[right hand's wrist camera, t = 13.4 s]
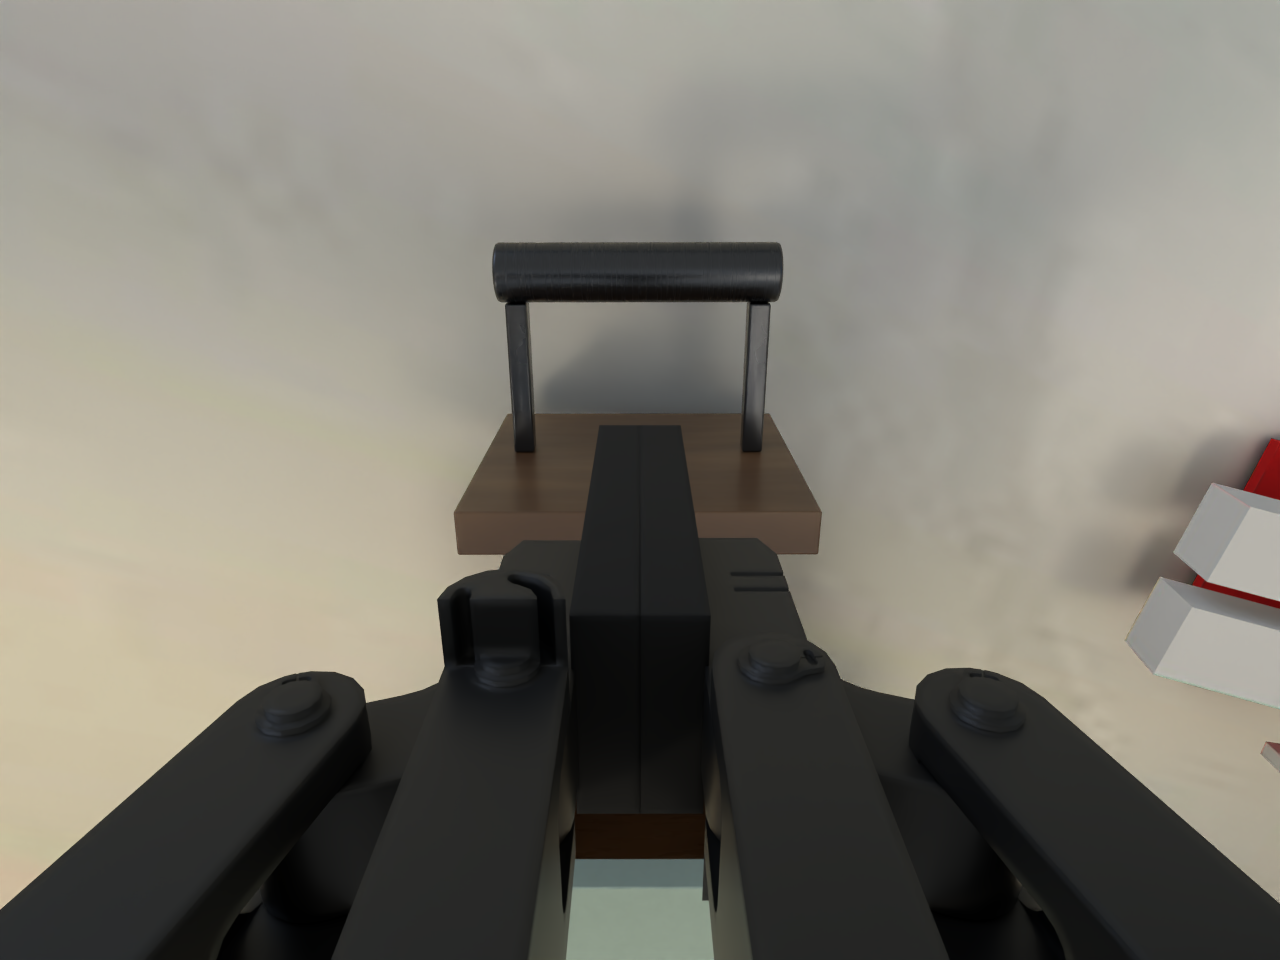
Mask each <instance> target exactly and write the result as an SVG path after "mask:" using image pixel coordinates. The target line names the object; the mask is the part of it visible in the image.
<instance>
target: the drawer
mask: <svg viewBox="0 0 1280 960" xmlns="http://www.w3.org/2000/svg"><path fill="white" fill-rule="evenodd" d="M492 273H493V284H494V290H495V294H496V297H497V299H498V301H500V302H507V303H506V305H505V312H506V327H507V343H508V358H509V374H510V389H511V404H512V414H507V416H506V418H505V420H504V421H503V423H502V425H501V427H500V429H499V431H498V432H497V434H496V436H495V438H494V440H493V442H492V443H491V445H490V447H489V449H488V451H487V453H486V454H485V456H484V458H483V460H482V462H481V464H480V465H479V467H478V469H477V471H476V473H475V475H474V476H473V478H472V480H471V482H470V484H469V486H468V488H467V489H466V491H465V493H464V495H463V497H462V499H461V500H460V502H459V504H458V506H457V508H456V510H455V511H454V520H455V530H456V540H457V550H458V554H459V555H506V554H507V553H508V552H509V551H511V550H512V549H513V548H514V547H516V546H517V545H518V544H519V543H520V542H522V541H523V540H581V538H582V531H583V525H584V519H585V512H586V506H587V500H588V494H589V487H590V481H591V475H592V468H593V462H594V456H595V450H596V443H597V437H598V431H599V425H681V431H682V437H683V443H684V450H685V456H686V462H687V468H688V475H689V481H690V487H691V494H692V500H693V506H694V513H695V519H696V525H697V531H698V538H758V539H759V540H760V541H762V542H763V543H764V544H765V545H766V546H768V547H769V548H770V549H771V550H773V551H774V552H775V553H776V554H818V548H819V538H820V527H821V517H822V512H821V510H820V508H819V506H818V504H817V502H816V500H815V498H814V497H813V495H812V493H811V491H810V489H809V487H808V485H807V483H806V482H805V480H804V478H803V476H802V474H801V472H800V470H799V468H798V467H797V465H796V463H795V461H794V459H793V457H792V455H791V453H790V451H789V450H788V448H787V446H786V444H785V442H784V440H783V438H782V436H781V435H780V433H779V431H778V429H777V427H776V425H775V423H774V421H773V420H772V418H771V416H770V414H764V407H765V391H766V374H767V358H768V342H769V325H770V309H771V305H770V303H769V302H775V301H777V300H778V298H779V296H780V293H781V288H782V280H783V253H782V248H781V245H780V244H779V243H777V242H588V243H497V244H496V245H495V247H494V251H493V259H492ZM528 302H747V314H746V335H745V355H744V375H743V395H742V414H535V410H534V391H533V372H532V354H531V335H530V317H529V303H528ZM574 819H575V843H576V855H575V859H704V843H705V819H706V812H705V803H704V802H703V814H577V802H576V807H575V816H574Z"/></svg>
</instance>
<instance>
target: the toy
mask: <svg viewBox="0 0 1280 960" xmlns="http://www.w3.org/2000/svg"><path fill="white" fill-rule="evenodd" d="M1173 553H1174V554H1175V555H1176V556H1178V557H1179V558H1180V559H1181V560H1182V561H1183V562H1185V563H1186V564H1187V565H1188V566H1189V567H1190V568H1192V569H1193V570H1194V571H1195V572H1196V573H1197V574H1198V575H1197V576H1196V578H1195V580H1194V582H1193V584H1192V585H1189V584H1185V583H1182V582H1178V581H1174V580H1170V579H1167V578H1163V577H1159V579H1158V581H1157V583H1156V584H1155V586H1154V588H1153V590H1152V592H1151V593H1150V595H1149V597H1148V599H1147V601H1146V602H1145V604H1144V606H1143V608H1142V610H1141V611H1140V613H1139V615H1138V617H1137V619H1136V620H1135V622H1134V624H1133V626H1132V628H1131V629H1130V631H1129V633H1128V635H1127V637H1126V638H1125V641H1126V642H1127V644H1128V645H1129V646H1130V647H1131V649H1132V650H1133V651H1134V652H1135V653H1136V655H1137V656H1138V657H1139V658H1140V659H1141V661H1142V662H1143V663H1144V664H1145V665H1146V667H1147V668H1148V669H1149V670H1150V671H1151V673H1152V674H1153V675H1157V676H1161V677H1164V678H1168V679H1171V680H1175V681H1179V682H1182V683H1186V684H1190V685H1193V686H1197V687H1201V688H1204V689H1208V690H1211V691H1215V692H1219V693H1222V694H1226V695H1230V696H1233V697H1237V698H1241V699H1244V700H1248V701H1251V702H1255V703H1259V704H1262V705H1266V706H1270V707H1273V708H1277V709H1280V440H1276V439H1272V438H1271V440H1270V442H1269V444H1268V446H1267V447H1266V449H1265V451H1264V453H1263V455H1262V457H1261V459H1260V460H1259V462H1258V464H1257V466H1256V468H1255V470H1254V471H1253V473H1252V475H1251V477H1250V479H1249V481H1248V482H1247V484H1246V486H1245V488H1244V490H1239V489H1235V488H1231V487H1227V486H1224V485H1220V484H1216V483H1211V485H1210V487H1209V489H1208V491H1207V492H1206V494H1205V496H1204V498H1203V500H1202V501H1201V503H1200V505H1199V507H1198V509H1197V510H1196V512H1195V514H1194V516H1193V518H1192V519H1191V521H1190V523H1189V525H1188V527H1187V528H1186V530H1185V532H1184V534H1183V536H1182V537H1181V539H1180V541H1179V543H1178V545H1177V546H1176V548H1175V550H1174V552H1173ZM1260 754H1262V755H1263V756H1264V757H1265V758H1266V759H1267V760H1268V761H1269V762H1270V763H1271V764H1272V765H1273V766H1274V767H1275V768H1276V769H1277V770H1278V771H1279V772H1280V744H1279V743H1272V742H1266V743H1265V745H1264V747H1263V749H1262V751H1261V753H1260Z"/></svg>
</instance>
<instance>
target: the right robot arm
mask: <svg viewBox="0 0 1280 960" xmlns="http://www.w3.org/2000/svg"><path fill="white" fill-rule="evenodd" d="M437 602H438V611H439V620H440V629H441V637H442V646H443V655H444V664H445V667H444V670H443V672H442V675H441V677H440V680H439V683H437V684H435V685H432V686H430V687H428V688H426V689H423V690H420V691H417V692H413V693H410V694H406V695H402V696H397V697H393V698H388V699H383V700H378V701H373V702H369V703H366V700H365V694H364V689H363V688H362V687H361V686H360V685H359V684H358V683H357V682H356V681H355V680H354V679H353V678H351V677H348V676H345V675H342V674H339V673H336V672H317V671H310V672H304V673H299V674H292V675H288V676H284V677H282V678H279V679H277V680H274V681H272V682H269V683H267V684H264V685H262V686H259V687H258V688H256V689H255V690H253V691H252V692H250V693H249V694H247V695H246V696H244V697H243V698H241V699H240V700H238V701H237V702H236V703H235V704H234V705H232V706H231V707H230V708H229V709H228V710H227V711H226V712H224V713H223V714H222V715H221V716H220V717H219V718H218V719H217V720H215V721H214V722H213V723H212V724H211V725H210V726H209V727H207V728H206V729H205V730H204V731H203V732H202V733H201V734H199V735H198V736H197V737H196V738H195V739H194V740H193V741H192V742H190V743H189V744H188V745H187V746H186V747H185V748H184V749H182V750H181V751H180V752H179V753H178V754H177V755H176V756H174V757H173V758H172V759H171V760H170V761H169V762H168V763H167V764H165V765H164V766H163V767H162V768H161V769H160V770H159V771H157V772H156V773H155V774H154V775H153V776H152V777H151V778H149V779H148V780H147V781H146V782H145V783H144V784H143V785H142V786H140V787H139V788H138V789H137V790H136V791H135V792H134V793H132V794H131V795H130V796H129V797H128V798H127V799H126V800H124V801H123V802H122V803H121V804H120V805H119V806H118V807H117V808H115V809H114V810H113V811H112V812H111V813H110V814H109V815H107V816H106V817H105V818H104V819H103V820H102V821H101V822H99V823H98V824H97V825H96V826H95V827H94V828H93V829H92V830H90V831H89V832H88V833H87V834H86V835H85V836H84V837H82V838H81V839H80V840H79V841H78V842H77V843H76V844H74V845H73V846H72V847H71V848H70V849H69V850H68V851H67V852H65V853H64V854H63V855H62V856H61V857H60V858H59V859H57V860H56V861H55V862H54V863H53V864H52V865H51V866H49V867H48V868H47V869H46V870H45V871H44V872H43V873H42V874H40V875H39V876H38V877H37V878H36V879H35V880H34V881H32V882H31V883H30V884H29V885H28V886H27V887H26V888H24V889H23V890H22V891H21V892H20V893H19V894H18V895H17V896H15V897H14V898H13V899H12V900H11V901H10V902H9V903H7V904H6V905H5V906H4V907H3V908H2V909H1V910H0V960H566V954H567V943H568V932H569V921H570V910H571V899H572V888H573V877H574V866H575V855H576V843H575V819H574V816H575V807H576V802H577V814H703V802H704V803H705V812H706V819H705V843H704V867H703V892H702V901H709V909H710V920H711V931H712V942H713V953H714V960H1280V904H1279V903H1278V902H1277V901H1276V900H1275V899H1274V898H1273V897H1271V896H1270V895H1269V894H1268V893H1267V892H1266V891H1265V890H1263V889H1262V888H1261V887H1260V886H1259V885H1258V884H1257V883H1255V882H1254V881H1253V880H1252V879H1251V878H1250V877H1249V876H1247V875H1246V874H1245V873H1244V872H1243V871H1242V870H1240V869H1239V868H1238V867H1237V866H1236V865H1235V864H1234V863H1232V862H1231V861H1230V860H1229V859H1228V858H1227V857H1226V856H1224V855H1223V854H1222V853H1221V852H1220V851H1219V850H1218V849H1216V848H1215V847H1214V846H1213V845H1212V844H1211V843H1210V842H1208V841H1207V840H1206V839H1205V838H1204V837H1203V836H1202V835H1200V834H1199V833H1198V832H1197V831H1196V830H1195V829H1194V828H1192V827H1191V826H1190V825H1189V824H1188V823H1187V822H1185V821H1184V820H1183V819H1182V818H1181V817H1180V816H1179V815H1177V814H1176V813H1175V812H1174V811H1173V810H1172V809H1171V808H1169V807H1168V806H1167V805H1166V804H1165V803H1164V802H1163V801H1161V800H1160V799H1159V798H1158V797H1157V796H1156V795H1155V794H1153V793H1152V792H1151V791H1150V790H1149V789H1148V788H1147V787H1145V786H1144V785H1143V784H1142V783H1141V782H1140V781H1139V780H1137V779H1136V778H1135V777H1134V776H1133V775H1132V774H1130V773H1129V772H1128V771H1127V770H1126V769H1125V768H1124V767H1122V766H1121V765H1120V764H1119V763H1118V762H1117V761H1116V760H1114V759H1113V758H1112V757H1111V756H1110V755H1109V754H1108V753H1106V752H1105V751H1104V750H1103V749H1102V748H1101V747H1100V746H1098V745H1097V744H1096V743H1095V742H1094V741H1093V740H1092V739H1090V738H1089V737H1088V736H1087V735H1086V734H1085V733H1084V732H1082V731H1081V730H1080V729H1079V728H1078V727H1077V726H1076V725H1074V724H1073V723H1072V722H1071V721H1070V720H1069V719H1067V718H1066V717H1065V716H1064V715H1063V714H1062V713H1061V712H1059V711H1058V710H1057V709H1056V708H1055V707H1054V706H1053V705H1051V704H1050V703H1049V702H1048V701H1047V700H1046V699H1045V698H1043V697H1042V696H1040V695H1039V694H1037V693H1036V692H1034V691H1033V690H1031V689H1030V688H1028V687H1027V686H1025V685H1024V684H1022V683H1020V682H1018V681H1015V680H1013V679H1010V678H1008V677H1005V676H1003V675H1000V674H998V673H995V672H991V671H986V670H985V671H984V670H981V669H973V668H946V669H943V670H940V671H937V672H934V673H931V674H928V675H927V676H926V677H925V678H924V679H923V680H922V681H921V682H920V683H919V684H918V685H917V688H916V694H915V700H913V699H908V698H903V697H899V696H894V695H889V694H884V693H879V692H875V691H872V690H868V689H864V688H861V687H857V686H855V685H853V684H851V683H848V682H846V681H844V680H841V679H840V676H839V674H838V671H837V669H836V666H835V664H834V663H833V662H832V660H831V659H830V658H829V656H828V655H827V653H826V652H825V651H823V650H822V649H820V648H819V647H817V646H816V645H814V644H812V643H811V642H809V641H807V638H806V635H805V633H804V630H803V627H802V624H801V621H800V619H799V616H798V613H797V610H796V607H795V604H794V602H793V599H792V596H791V593H790V591H789V590H788V585H787V582H786V579H785V576H783V571H782V568H781V565H780V562H779V559H778V557H777V554H776V553H775V552H774V551H773V550H771V549H770V548H769V547H768V546H766V545H765V544H764V543H763V542H762V541H760V540H759V539H758V538H698V531H697V525H696V519H695V513H694V506H693V500H692V494H691V487H690V481H689V475H688V468H687V462H686V456H685V450H684V443H683V437H682V431H681V425H599V431H598V437H597V443H596V450H595V456H594V462H593V468H592V475H591V481H590V487H589V494H588V500H587V506H586V512H585V519H584V525H583V531H582V538H581V540H523V541H522V542H520V543H519V544H518V545H517V546H516V547H514V548H513V549H512V550H511V551H509V552H508V553H507V554H506V555H505V556H504V557H503V560H502V563H501V565H500V568H499V570H491V571H485V572H482V573H478V574H475V575H471V576H468V577H465V578H463V579H461V580H459V581H458V582H456V583H454V584H452V585H450V586H449V587H447V588H446V590H445V591H444V592H443V593H442V594H441V596H440V597H439V598H438V599H437Z"/></svg>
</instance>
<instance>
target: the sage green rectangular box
mask: <svg viewBox="0 0 1280 960" xmlns="http://www.w3.org/2000/svg"><path fill="white" fill-rule="evenodd" d="M703 867H704V859H575V866H574V877H573V888H572V899H571V910H570V921H569V932H568V943H567V954H566V960H714V953H713V942H712V931H711V920H710V909H709V901H702V892H703Z"/></svg>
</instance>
